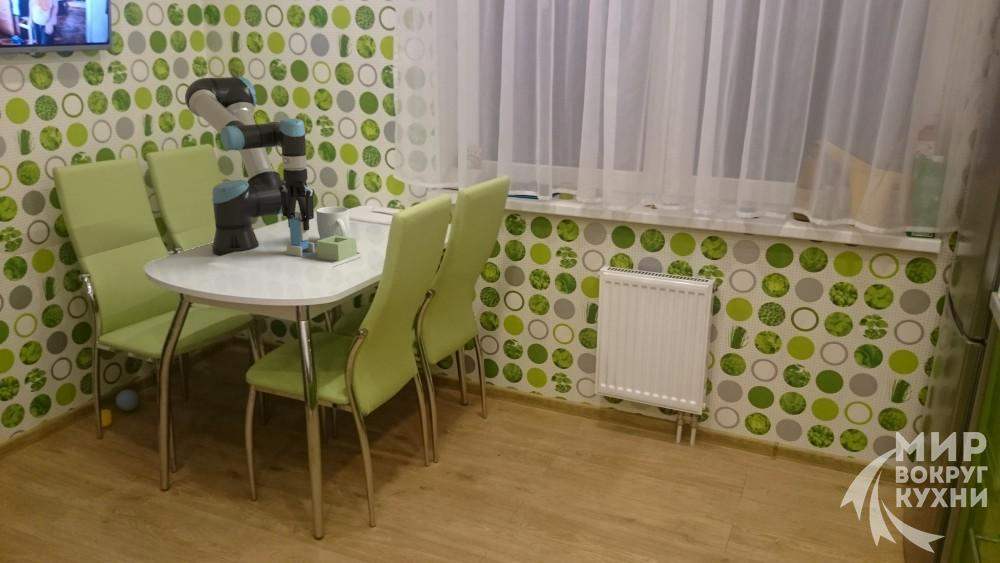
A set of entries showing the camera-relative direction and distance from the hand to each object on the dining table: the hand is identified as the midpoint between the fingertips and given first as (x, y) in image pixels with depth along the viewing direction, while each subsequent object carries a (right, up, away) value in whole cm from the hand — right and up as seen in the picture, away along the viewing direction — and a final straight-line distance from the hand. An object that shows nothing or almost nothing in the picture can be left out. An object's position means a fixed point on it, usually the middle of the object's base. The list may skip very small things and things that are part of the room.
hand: (299, 238), depth 266 cm
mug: (+9, -2, +14) cm, 17 cm away
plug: (0, -3, +1) cm, 3 cm away
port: (+13, -6, -2) cm, 14 cm away
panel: (+8, -6, +1) cm, 10 cm away
